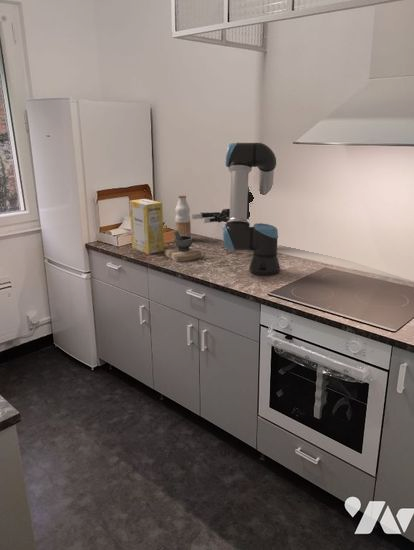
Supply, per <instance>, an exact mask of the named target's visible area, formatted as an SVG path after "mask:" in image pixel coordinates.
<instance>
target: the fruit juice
mask: <svg viewBox="0 0 414 550" xmlns="http://www.w3.org/2000/svg"><path fill="white" fill-rule="evenodd" d="M177 197H178V201H177V203H176V206H175V210H174V211H175V218H174V221H175V230H178V233H179V234H180V236H189V237H192V235H191V233H192V232H191V216H190V213H191V212H190V211H191V208H190V206H189V204H188V201H187V195H186V194H179V195H178V196H177Z"/></svg>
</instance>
